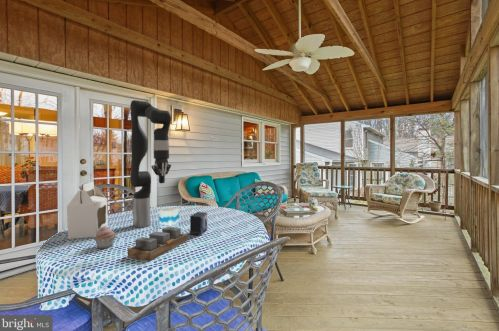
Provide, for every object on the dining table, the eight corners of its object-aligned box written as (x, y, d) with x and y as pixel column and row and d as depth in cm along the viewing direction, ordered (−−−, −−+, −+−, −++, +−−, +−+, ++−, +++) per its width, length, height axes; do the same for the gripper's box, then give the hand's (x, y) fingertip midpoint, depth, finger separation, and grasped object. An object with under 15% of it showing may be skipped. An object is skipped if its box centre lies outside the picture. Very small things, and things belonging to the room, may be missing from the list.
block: (149, 246, 123) (149, 234, 122) (156, 243, 127) (156, 231, 127) (163, 249, 120) (163, 236, 120) (169, 245, 124) (169, 233, 124)
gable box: (83, 227, 158) (82, 180, 157) (108, 226, 161) (106, 180, 160) (67, 239, 136) (65, 185, 135) (95, 237, 140) (94, 184, 138)
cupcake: (114, 248, 123) (113, 227, 122) (91, 251, 120) (91, 229, 120) (118, 242, 132) (117, 222, 131) (97, 244, 129) (96, 224, 129)
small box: (201, 235, 142) (200, 216, 142) (189, 235, 144) (189, 215, 143) (207, 230, 153) (207, 212, 152) (197, 229, 154) (197, 211, 154)
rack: (127, 257, 113) (127, 241, 113) (167, 238, 138) (167, 225, 138) (150, 261, 109) (150, 244, 108) (187, 241, 134) (187, 227, 133)
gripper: (163, 149, 143) (164, 181, 144) (146, 149, 130) (146, 184, 131) (175, 149, 140) (175, 182, 141) (158, 149, 128) (159, 184, 129)
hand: (161, 183), depth 136 cm, fingers closed
